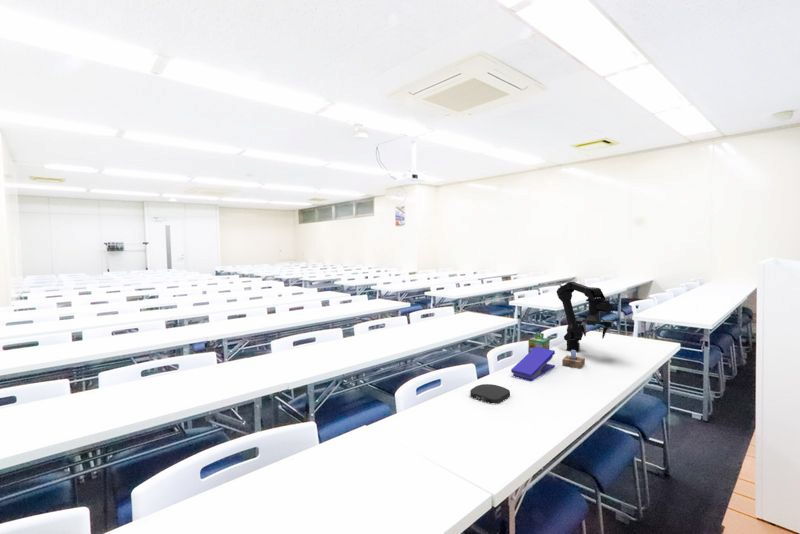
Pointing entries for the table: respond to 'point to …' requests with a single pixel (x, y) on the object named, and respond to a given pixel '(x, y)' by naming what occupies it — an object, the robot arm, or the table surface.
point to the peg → (573, 354)
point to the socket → (573, 362)
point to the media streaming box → (490, 393)
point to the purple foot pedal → (534, 364)
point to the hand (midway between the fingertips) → (593, 337)
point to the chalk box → (538, 342)
